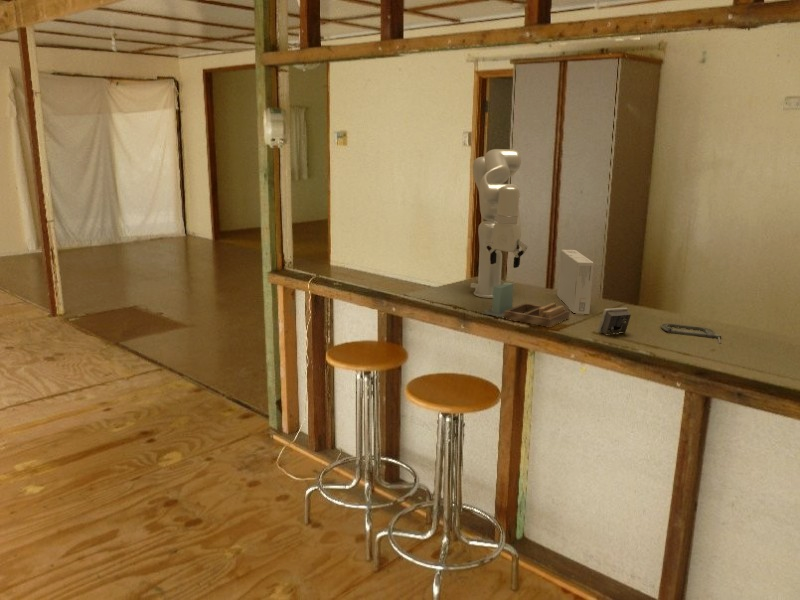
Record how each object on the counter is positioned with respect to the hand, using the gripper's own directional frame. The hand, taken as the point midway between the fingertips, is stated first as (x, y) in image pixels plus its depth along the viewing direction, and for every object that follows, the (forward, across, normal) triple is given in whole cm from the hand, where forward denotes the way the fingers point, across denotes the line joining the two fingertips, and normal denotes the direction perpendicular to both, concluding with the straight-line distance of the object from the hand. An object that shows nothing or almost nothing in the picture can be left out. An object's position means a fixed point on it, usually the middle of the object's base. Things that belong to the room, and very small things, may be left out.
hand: (504, 265), depth 252 cm
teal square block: (+17, 0, -1) cm, 17 cm away
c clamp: (+18, +64, +18) cm, 69 cm away
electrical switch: (+18, +44, -1) cm, 48 cm away
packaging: (+19, +16, +29) cm, 38 cm away
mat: (+18, +1, -1) cm, 18 cm away
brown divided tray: (+18, +15, -1) cm, 23 cm away
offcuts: (+18, +20, -1) cm, 27 cm away
